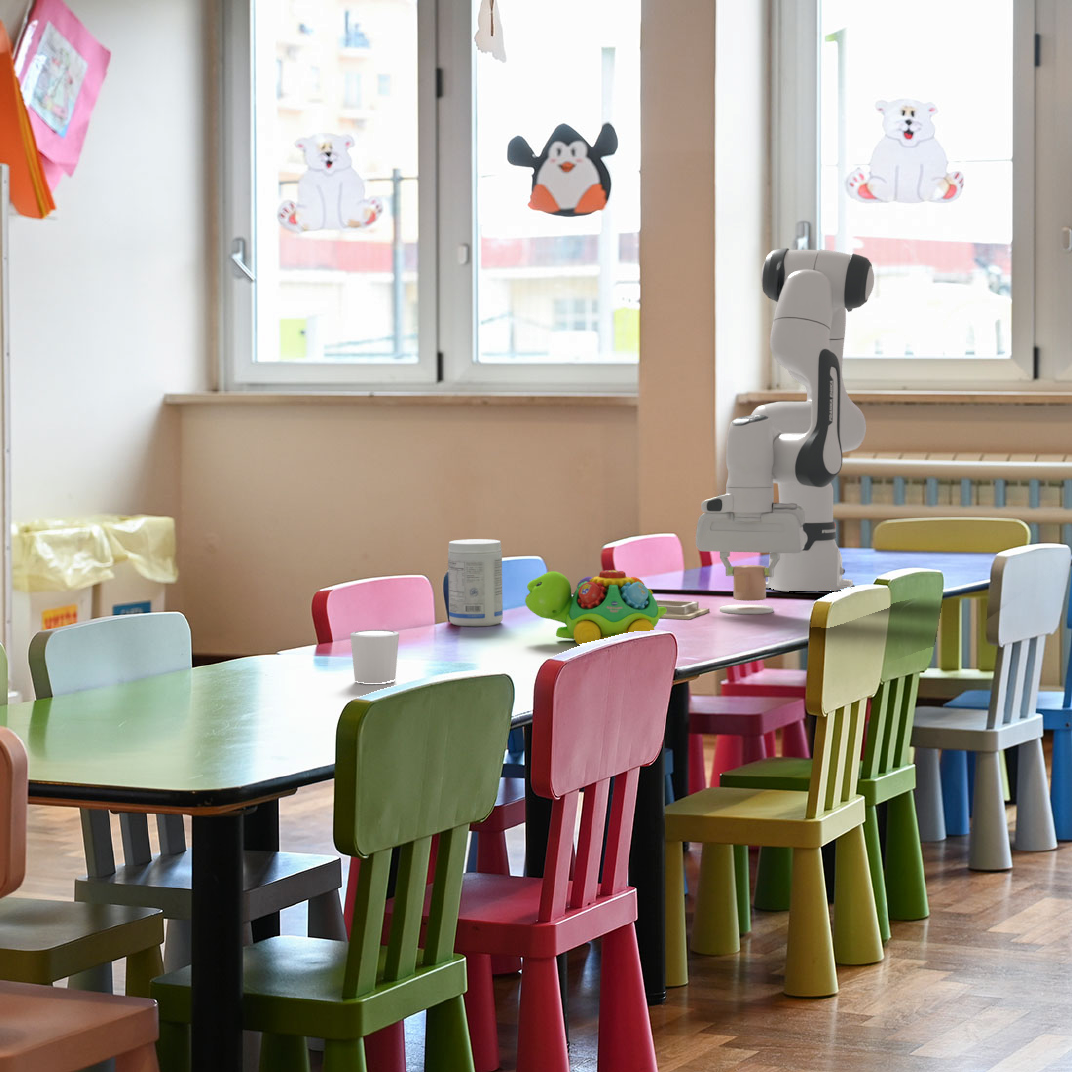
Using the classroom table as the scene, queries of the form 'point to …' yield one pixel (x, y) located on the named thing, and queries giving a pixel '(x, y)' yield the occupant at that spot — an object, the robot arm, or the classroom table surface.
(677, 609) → the jug stand
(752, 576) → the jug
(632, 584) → the turtle toy
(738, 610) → the coaster
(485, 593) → the supplement tub
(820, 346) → the robot arm
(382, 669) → the white cup
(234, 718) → the classroom table surface
